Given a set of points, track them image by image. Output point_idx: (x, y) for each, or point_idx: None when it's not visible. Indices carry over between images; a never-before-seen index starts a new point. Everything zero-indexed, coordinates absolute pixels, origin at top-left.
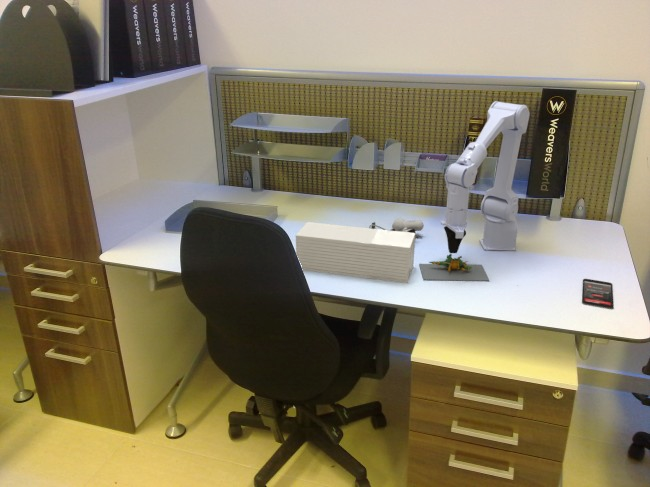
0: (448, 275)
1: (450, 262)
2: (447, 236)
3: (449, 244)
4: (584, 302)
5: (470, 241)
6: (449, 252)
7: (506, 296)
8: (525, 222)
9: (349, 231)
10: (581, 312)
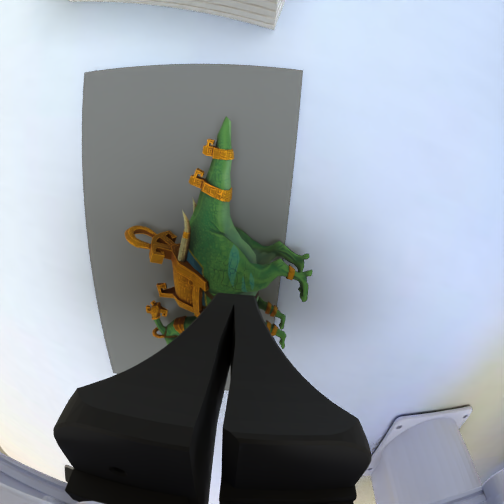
0: (130, 219)
1: (194, 264)
2: (115, 379)
3: (183, 334)
4: (69, 469)
5: (480, 381)
6: (218, 293)
7: (32, 368)
8: (485, 472)
9: None
10: (34, 446)
